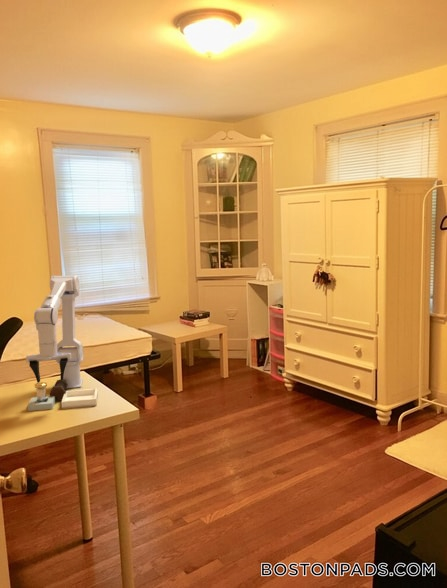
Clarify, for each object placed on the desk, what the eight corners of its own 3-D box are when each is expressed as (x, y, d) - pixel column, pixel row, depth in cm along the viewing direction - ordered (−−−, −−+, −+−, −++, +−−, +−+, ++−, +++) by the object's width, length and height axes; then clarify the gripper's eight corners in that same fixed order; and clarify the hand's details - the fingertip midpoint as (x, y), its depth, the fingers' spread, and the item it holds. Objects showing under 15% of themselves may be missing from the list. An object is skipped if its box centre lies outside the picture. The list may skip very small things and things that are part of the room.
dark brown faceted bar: (64, 391, 192) (60, 403, 177) (52, 386, 190) (47, 398, 176) (71, 378, 192) (67, 389, 177) (59, 373, 191) (54, 383, 176)
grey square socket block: (32, 402, 176) (31, 397, 175) (55, 400, 177) (55, 395, 177) (28, 410, 168) (27, 405, 167) (52, 408, 169) (52, 403, 169)
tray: (65, 397, 180) (65, 391, 180) (97, 394, 183) (97, 388, 182) (61, 408, 169) (61, 401, 169) (96, 405, 172) (96, 398, 171)
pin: (37, 404, 174) (35, 382, 173) (48, 403, 175) (47, 381, 174) (35, 408, 170) (33, 386, 169) (47, 407, 171) (45, 385, 170)
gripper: (23, 346, 161) (26, 386, 163) (68, 343, 165) (71, 382, 166) (26, 341, 168) (29, 379, 170) (70, 338, 171) (72, 376, 173)
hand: (50, 380), depth 169 cm, fingers open, 7 cm apart
